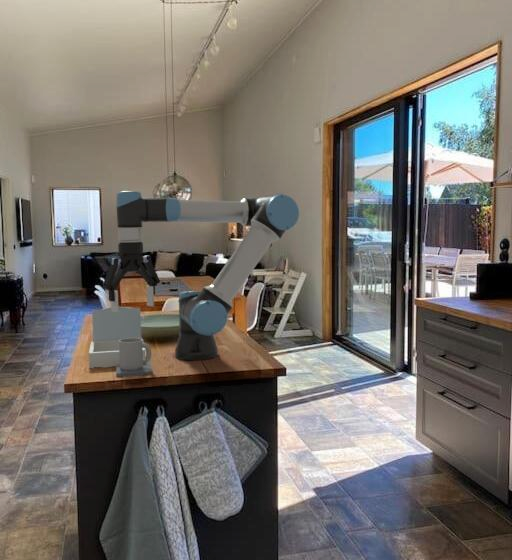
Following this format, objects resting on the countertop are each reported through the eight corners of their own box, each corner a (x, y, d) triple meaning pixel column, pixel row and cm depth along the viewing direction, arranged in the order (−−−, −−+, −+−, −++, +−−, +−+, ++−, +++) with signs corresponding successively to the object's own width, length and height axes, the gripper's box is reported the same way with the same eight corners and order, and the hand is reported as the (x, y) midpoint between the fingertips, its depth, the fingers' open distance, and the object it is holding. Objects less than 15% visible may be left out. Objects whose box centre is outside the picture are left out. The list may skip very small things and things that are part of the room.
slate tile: (152, 374, 176) (152, 371, 175) (116, 376, 173) (116, 373, 173) (150, 365, 186) (150, 362, 186) (116, 367, 184) (116, 364, 183)
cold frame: (145, 364, 187) (144, 318, 186) (89, 368, 183) (87, 320, 181) (142, 349, 210) (141, 307, 208) (92, 352, 205) (90, 309, 204)
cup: (120, 365, 183) (119, 338, 182) (151, 364, 184) (151, 337, 183) (118, 371, 176) (118, 343, 175) (151, 369, 177) (150, 341, 176)
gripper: (154, 239, 187) (156, 302, 189) (88, 242, 168) (91, 312, 171) (169, 239, 182) (171, 304, 184) (102, 243, 163) (106, 315, 166)
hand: (133, 308), depth 178 cm, fingers open, 13 cm apart
